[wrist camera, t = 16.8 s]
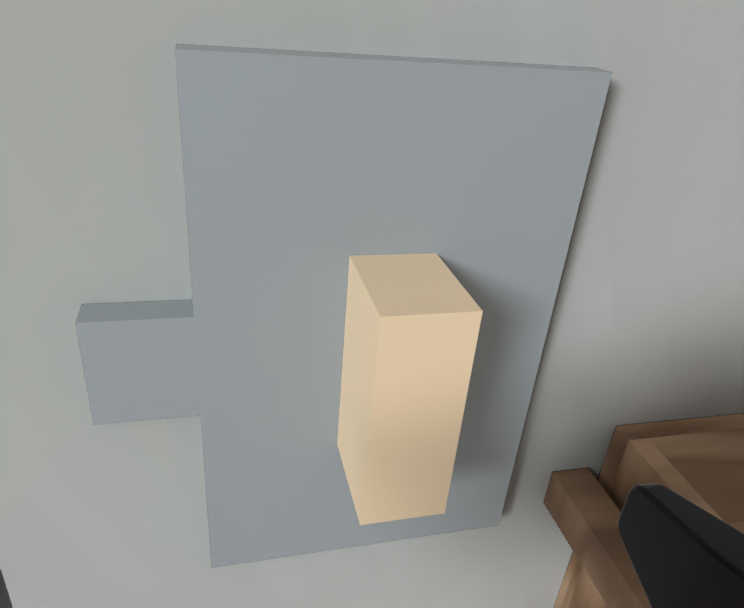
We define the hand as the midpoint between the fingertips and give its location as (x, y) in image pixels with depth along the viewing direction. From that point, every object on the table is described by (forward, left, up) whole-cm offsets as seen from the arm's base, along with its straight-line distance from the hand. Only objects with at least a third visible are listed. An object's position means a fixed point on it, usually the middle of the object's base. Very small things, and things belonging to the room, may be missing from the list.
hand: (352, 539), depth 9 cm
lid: (-5, -2, -13) cm, 14 cm away
